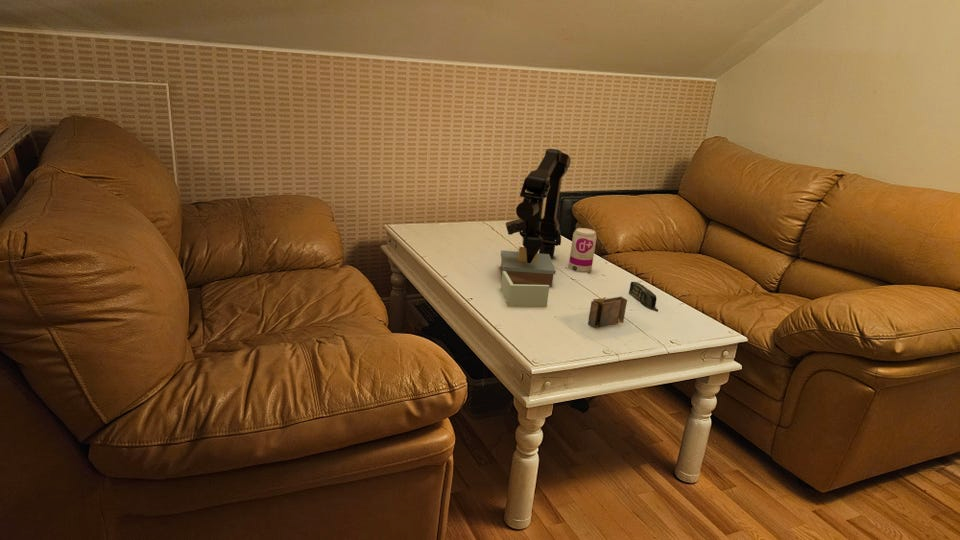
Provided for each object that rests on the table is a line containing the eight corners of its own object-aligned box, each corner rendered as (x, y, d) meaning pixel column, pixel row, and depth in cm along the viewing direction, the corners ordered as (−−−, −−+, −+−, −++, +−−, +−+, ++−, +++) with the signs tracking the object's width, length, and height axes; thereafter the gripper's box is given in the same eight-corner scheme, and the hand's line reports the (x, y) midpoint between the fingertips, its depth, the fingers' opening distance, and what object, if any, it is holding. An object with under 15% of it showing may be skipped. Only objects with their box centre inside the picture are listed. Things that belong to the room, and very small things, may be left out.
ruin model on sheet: (594, 330, 171) (599, 298, 168) (587, 325, 174) (592, 294, 171) (623, 324, 177) (629, 293, 174) (616, 320, 179) (622, 289, 176)
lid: (500, 253, 210) (502, 239, 208) (548, 257, 211) (550, 243, 209) (503, 270, 194) (504, 255, 192) (555, 274, 195) (557, 259, 193)
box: (500, 268, 212) (502, 254, 210) (545, 272, 212) (547, 257, 210) (502, 285, 196) (504, 269, 195) (551, 289, 197) (553, 273, 195)
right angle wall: (546, 308, 183) (549, 286, 180) (508, 308, 181) (510, 285, 178) (536, 293, 194) (539, 271, 192) (500, 293, 192) (502, 271, 189)
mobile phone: (629, 280, 199) (654, 297, 185) (637, 280, 200) (662, 296, 186) (626, 294, 200) (651, 312, 187) (634, 294, 201) (659, 311, 188)
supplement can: (590, 275, 213) (597, 235, 208) (567, 272, 214) (573, 232, 209) (591, 268, 221) (597, 229, 216) (568, 265, 222) (574, 226, 217)
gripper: (506, 204, 205) (502, 248, 210) (510, 219, 187) (505, 266, 193) (539, 207, 205) (533, 250, 211) (545, 222, 188) (539, 268, 193)
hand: (527, 258), depth 202 cm, fingers open, 9 cm apart
